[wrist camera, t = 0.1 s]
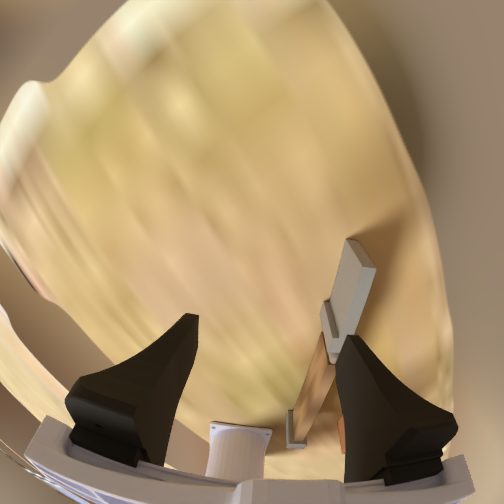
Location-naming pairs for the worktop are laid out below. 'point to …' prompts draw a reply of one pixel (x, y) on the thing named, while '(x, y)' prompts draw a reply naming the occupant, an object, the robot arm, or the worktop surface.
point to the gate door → (314, 389)
